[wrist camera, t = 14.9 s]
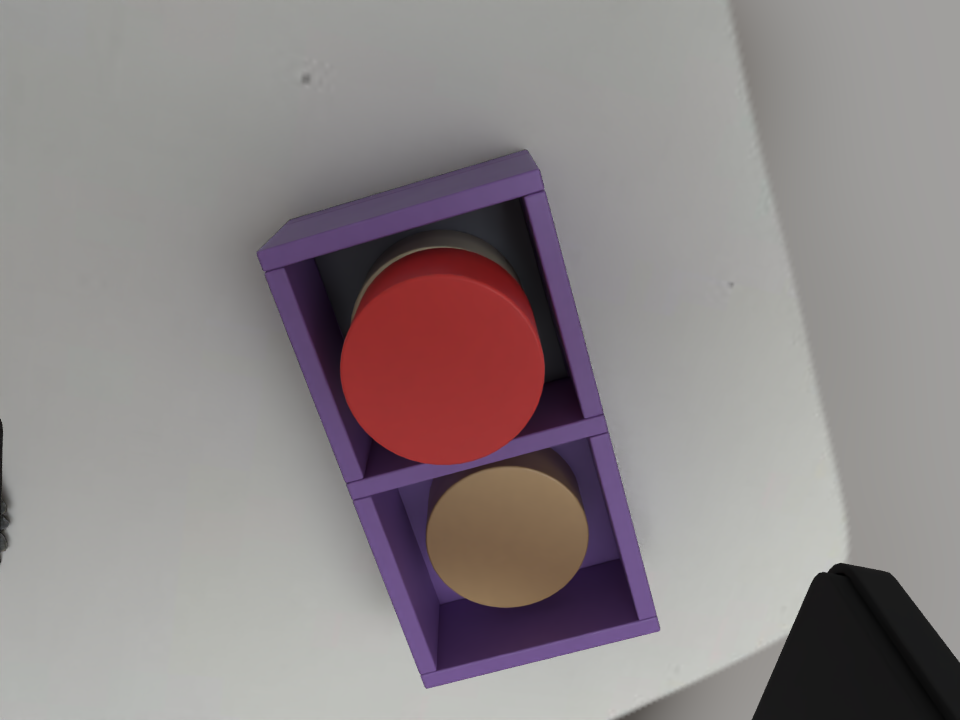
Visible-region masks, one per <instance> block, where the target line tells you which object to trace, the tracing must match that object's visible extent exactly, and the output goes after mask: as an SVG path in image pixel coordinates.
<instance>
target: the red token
mask: <svg viewBox="0 0 960 720" xmlns="http://www.w3.org/2000/svg"><path fill="white" fill-rule="evenodd" d="M544 376H545V364H544V355H543V350H542V346H541V342H540V338H539V334H538V330H537V326H536V322H535V318H534V314H533V310H532V308H531V305H530V303H529V300H528V298H527V296H526V294H525V293H524V291H523V289H522V288H521V286H520V285H519V284H518V282H517V281H516V280H515V279H514V278H513V277H512V276H511V275H510V274H509V273H508V272H507V271H506V270H505V269H504V268H502V267H501V266H500V265H499V264H497V263H495V262H494V261H492V260H490V259H489V258H487V257H484V256H482V255H480V254H477V253H474V252H471V251H467V250H463V249H456V248H432V249H426V250H421V251H417V252H414V253H412V254H409V255H406V256H404V257H402V258H400V259H399V260H397V261H395V262H393V263H392V264H391V265H389V266H388V267H386V268H385V269H384V270H383V271H382V272H381V273H380V274H379V275H378V276H377V277H376V278H375V279H374V280H373V281H372V283H371V284H370V285H369V287H368V288H367V290H366V292H365V293H364V295H363V297H362V299H361V301H360V304H359V306H358V309H357V311H356V314H355V316H354V318H353V321H352V323H351V326H350V328H349V330H348V333H347V335H346V338H345V340H344V344H343V348H342V352H341V361H340V378H341V384H342V389H343V393H344V396H345V399H346V402H347V404H348V406H349V408H350V410H351V412H352V414H353V416H354V417H355V419H356V420H357V422H358V423H359V425H360V426H361V427H362V428H363V429H364V430H365V432H366V433H367V434H368V435H369V436H370V437H372V438H373V439H374V440H375V441H376V442H377V443H379V444H380V445H382V446H383V447H384V448H386V449H387V450H389V451H391V452H393V453H395V454H397V455H399V456H401V457H404V458H406V459H409V460H412V461H416V462H420V463H425V464H433V465H453V464H462V463H466V462H471V461H475V460H477V459H480V458H483V457H486V456H488V455H490V454H492V453H494V452H496V451H497V450H499V449H500V448H502V447H503V446H505V445H506V444H508V443H509V442H510V441H511V440H512V439H514V438H515V437H516V436H517V435H518V434H519V433H520V432H521V430H522V429H523V428H524V427H525V426H526V424H527V423H528V422H529V420H530V419H531V417H532V416H533V414H534V412H535V410H536V408H537V406H538V403H539V400H540V397H541V394H542V390H543V385H544Z"/></svg>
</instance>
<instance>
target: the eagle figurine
mask: <svg viewBox="0 0 960 720" xmlns="http://www.w3.org/2000/svg"><path fill="white" fill-rule="evenodd" d="M6 510H7V508H6V504H5V503H4V502H3V500H2V498H1V530H2V529H6V528H7V527H8V525H9V521H8V520H6V519H5V517H3V516H2V514H4V513H5V512H6ZM6 549H7V542H6V539H5V537H4V536H3V535H2V534H1V535H0V552H3V551H5V550H6ZM0 563H1V561H0Z"/></svg>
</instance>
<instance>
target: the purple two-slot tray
mask: <svg viewBox="0 0 960 720" xmlns="http://www.w3.org/2000/svg"><path fill="white" fill-rule="evenodd" d="M431 230H452V231H459V232H463V233H467V234H470V235H473V236H475V237H477V238H480V239H482V240H484V241H485V242H487V243H489V244H490V245H492V246H493V247H494V248H495V249H497V250H498V251H499V252H500V253H501V254H502V255H503V256H504V257H505V258H506V259H507V260H508V261H509V263H510V264H511V265H512V267H513V268H514V270H515V272H516V273H517V275H518V277H519V279H520V282H521V285H522V287H523V291H524V293H525V294H526V296H527V298H528V300H529V303H530V305H531V308H532V310H533V314H534V318H535V322H536V326H537V330H538V334H539V338H540V342H541V346H542V350H543V355H544V364H545V376H544V385H543V390H542V394H541V397H540V400H539V403H538V406H537V408H536V410H535V412H534V414H533V416H532V417H531V419H530V420H529V422H528V423H527V424H526V426H525V427H524V428H523V429H522V430H521V432H520V433H519V434H518V435H517V436H516V437H515V438H514V439H512V440H511V441H510V442H509V443H508V444H506V445H505V446H503V447H502V448H500V449H499V450H497V451H496V452H494V453H492V454H490V455H488V456H486V457H483V458H480V459H477V460H475V461H471V462H466V463H462V464H453V465H433V464H425V463H420V462H416V461H412V460H409V459H406V458H404V457H401V456H399V455H397V454H395V453H393V452H391V451H389V450H387V449H386V448H384V447H383V446H382V445H380V444H379V443H377V442H376V441H375V440H374V439H373V438H372V437H370V436H369V435H368V434H367V433H366V432H365V430H364V429H363V428H362V427H361V426H360V425H359V423H358V422H357V420H356V419H355V417H354V416H353V414H352V412H351V410H350V408H349V406H348V404H347V402H346V399H345V396H344V393H343V389H342V384H341V378H340V361H341V352H342V348H343V344H344V340H345V338H346V335H347V333H348V330H349V328H350V325H351V316H352V312H353V308H354V304H355V302H356V299H357V297H358V295H359V292H360V290H361V288H362V285H363V283H364V281H365V278H366V276H367V274H368V272H369V271H370V269H371V267H372V266H373V264H374V263H375V262H376V260H377V259H378V258H379V257H380V256H381V255H382V254H383V253H384V252H385V251H386V250H387V249H388V248H390V247H391V246H392V245H394V244H395V243H397V242H399V241H400V240H402V239H404V238H406V237H409V236H411V235H414V234H416V233H421V232H425V231H431ZM257 257H258V259H259V262H260V264H261V267H262V270H263V271H264V272H265V277H266V280H267V282H268V285H269V288H270V290H271V293H272V295H273V298H274V300H275V303H276V306H277V308H278V311H279V313H280V316H281V318H282V321H283V324H284V326H285V329H286V331H287V334H288V336H289V339H290V342H291V344H292V347H293V349H294V352H295V354H296V357H297V360H298V362H299V365H300V367H301V370H302V372H303V375H304V378H305V380H306V383H307V385H308V388H309V390H310V393H311V396H312V398H313V401H314V403H315V406H316V408H317V411H318V414H319V416H320V419H321V421H322V424H323V426H324V429H325V432H326V434H327V437H328V439H329V442H330V444H331V447H332V450H333V452H334V455H335V457H336V460H337V462H338V465H339V468H340V470H341V473H342V475H343V478H344V480H345V482H346V483H347V484H346V486H347V488H348V491H349V493H350V496H351V498H352V500H353V504H354V506H355V509H356V511H357V514H358V516H359V519H360V522H361V524H362V527H363V529H364V532H365V534H366V537H367V540H368V542H369V545H370V547H371V550H372V552H373V555H374V558H375V560H376V563H377V565H378V568H379V570H380V573H381V576H382V578H383V581H384V583H385V586H386V588H387V591H388V594H389V596H390V599H391V601H392V604H393V606H394V609H395V612H396V614H397V617H398V619H399V622H400V624H401V627H402V630H403V632H404V635H405V637H406V640H407V642H408V645H409V648H410V650H411V653H412V655H413V658H414V660H415V663H416V666H417V668H418V671H419V673H420V674H421V678H422V681H423V684H424V686H425V688H431V687H435V686H439V685H443V684H448V683H452V682H456V681H460V680H464V679H468V678H472V677H476V676H480V675H484V674H488V673H492V672H496V671H500V670H504V669H508V668H512V667H516V666H520V665H524V664H528V663H532V662H536V661H541V660H545V659H549V658H553V657H557V656H561V655H565V654H569V653H573V652H577V651H581V650H585V649H589V648H593V647H597V646H601V645H605V644H609V643H613V642H617V641H621V640H625V639H629V638H634V637H638V636H642V635H646V634H650V633H654V632H658V631H660V626H659V622H658V618H657V615H656V610H655V607H654V603H653V599H652V595H651V591H650V588H649V584H648V580H647V576H646V572H645V569H644V565H643V561H642V557H641V553H640V549H639V546H638V542H637V538H636V534H635V530H634V527H633V523H632V519H631V515H630V511H629V508H628V504H627V500H626V496H625V492H624V489H623V485H622V481H621V477H620V473H619V470H618V466H617V462H616V458H615V454H614V451H613V447H612V443H611V439H610V435H609V432H608V428H607V424H606V420H605V416H604V413H603V409H602V405H601V401H600V397H599V393H598V390H597V386H596V382H595V378H594V374H593V371H592V367H591V363H590V359H589V355H588V352H587V348H586V344H585V340H584V336H583V333H582V329H581V325H580V321H579V317H578V314H577V310H576V306H575V302H574V298H573V294H572V291H571V287H570V283H569V279H568V275H567V272H566V268H565V264H564V260H563V256H562V253H561V249H560V245H559V241H558V237H557V234H556V230H555V226H554V222H553V218H552V215H551V211H550V207H549V203H548V199H547V196H546V192H545V190H544V184H543V180H542V176H541V173H540V170H539V168H538V166H537V165H536V163H535V161H534V160H533V158H532V156H531V155H530V153H529V152H528V150H523V151H519V152H516V153H513V154H509V155H506V156H503V157H499V158H496V159H493V160H489V161H486V162H482V163H479V164H476V165H472V166H469V167H466V168H462V169H459V170H456V171H452V172H449V173H446V174H442V175H439V176H436V177H432V178H429V179H425V180H422V181H419V182H415V183H412V184H409V185H405V186H402V187H399V188H395V189H392V190H389V191H385V192H382V193H378V194H375V195H372V196H368V197H365V198H362V199H358V200H355V201H352V202H348V203H345V204H342V205H338V206H335V207H332V208H328V209H325V210H321V211H318V212H315V213H311V214H308V215H305V216H301V217H298V218H295V219H291V220H289V221H288V222H287V223H286V224H285V225H284V226H283V227H282V228H281V229H280V230H279V231H278V232H277V233H276V234H275V235H274V236H273V237H272V238H271V239H270V240H269V241H268V242H267V243H265V244H264V245H263V246H262V247H261V248H260V249H259V250H258V251H257ZM549 447H550V448H551V449H553V450H554V451H555V452H557V453H558V454H559V455H560V456H561V457H562V458H563V459H564V460H565V461H566V463H567V464H568V465H569V466H570V468H571V470H572V472H573V473H574V475H575V478H576V480H577V483H578V487H579V490H580V494H581V498H582V502H583V506H584V510H585V514H586V518H587V522H588V529H589V541H588V547H587V552H586V555H585V558H584V560H583V563H582V564H581V566H580V568H579V570H578V571H577V573H576V574H575V575H574V577H573V578H572V579H571V580H570V581H569V582H568V583H567V584H566V585H565V586H564V587H563V588H562V589H560V590H559V591H558V592H556V593H555V594H553V595H551V596H550V597H548V598H546V599H544V600H541V601H539V602H536V603H533V604H530V605H525V606H521V607H511V608H499V607H491V606H486V605H482V604H478V603H475V602H473V601H470V600H468V599H466V598H464V597H462V596H460V595H459V594H457V593H456V592H454V591H453V590H452V589H451V588H449V587H448V586H447V585H446V584H445V583H444V582H443V581H442V580H441V578H440V577H439V576H438V574H437V573H436V571H435V570H434V568H433V566H432V564H431V562H430V560H429V556H428V553H427V548H426V523H427V510H428V498H429V492H430V487H431V484H432V481H433V479H434V478H437V477H441V476H445V475H448V474H452V473H456V472H460V471H463V470H467V469H471V468H474V467H478V466H482V465H486V464H489V463H493V462H497V461H501V460H504V459H508V458H512V457H515V456H519V455H523V454H527V453H530V452H534V451H538V450H542V449H545V448H549Z"/></svg>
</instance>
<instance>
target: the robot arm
mask: <svg viewBox="0 0 960 720" xmlns="http://www.w3.org/2000/svg"><path fill="white" fill-rule="evenodd" d="M2 447H3V427H2V422H1V419H0V535H1V491H2ZM752 720H960V662H959V661H958V660H957V659H956V657H955V656H954V655H953V653H952V652H951V651H950V649H949V648H948V647H947V646H946V644H945V643H944V641H943V640H942V639H941V638H940V636H939V635H938V634H937V632H936V631H935V630H934V628H933V627H932V626H931V624H930V623H929V622H928V620H927V619H926V618H925V617H924V615H923V614H922V613H921V611H920V610H919V609H918V607H917V606H916V605H915V603H914V602H913V601H912V600H911V598H910V597H909V595H908V594H907V593H906V592H905V590H904V589H903V588H902V586H901V585H900V584H899V582H898V581H897V580H896V579H895V578H894V577H893V576H892V575H891V574H890V573H888V572H885V571H881V570H875V569H870V568H865V567H860V566H854V565H849V564H844V563H839V564H836V565H834V566H833V567H832V568H831V569H830V570H829V571H828V573H826V572H822V573H819V574H818V575H817V576H815V578H814V579H813V581H812V583H811V585H810V587H809V590H808V592H807V594H806V596H805V599H804V601H803V603H802V606H801V608H800V610H799V613H798V615H797V617H796V619H795V622H794V624H793V626H792V629H791V631H790V633H789V636H788V638H787V640H786V642H785V645H784V647H783V649H782V652H781V654H780V656H779V659H778V661H777V663H776V666H775V668H774V670H773V672H772V675H771V677H770V679H769V682H768V684H767V686H766V689H765V691H764V693H763V695H762V698H761V700H760V702H759V705H758V707H757V709H756V712H755V714H754V716H753V719H752Z"/></svg>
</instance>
